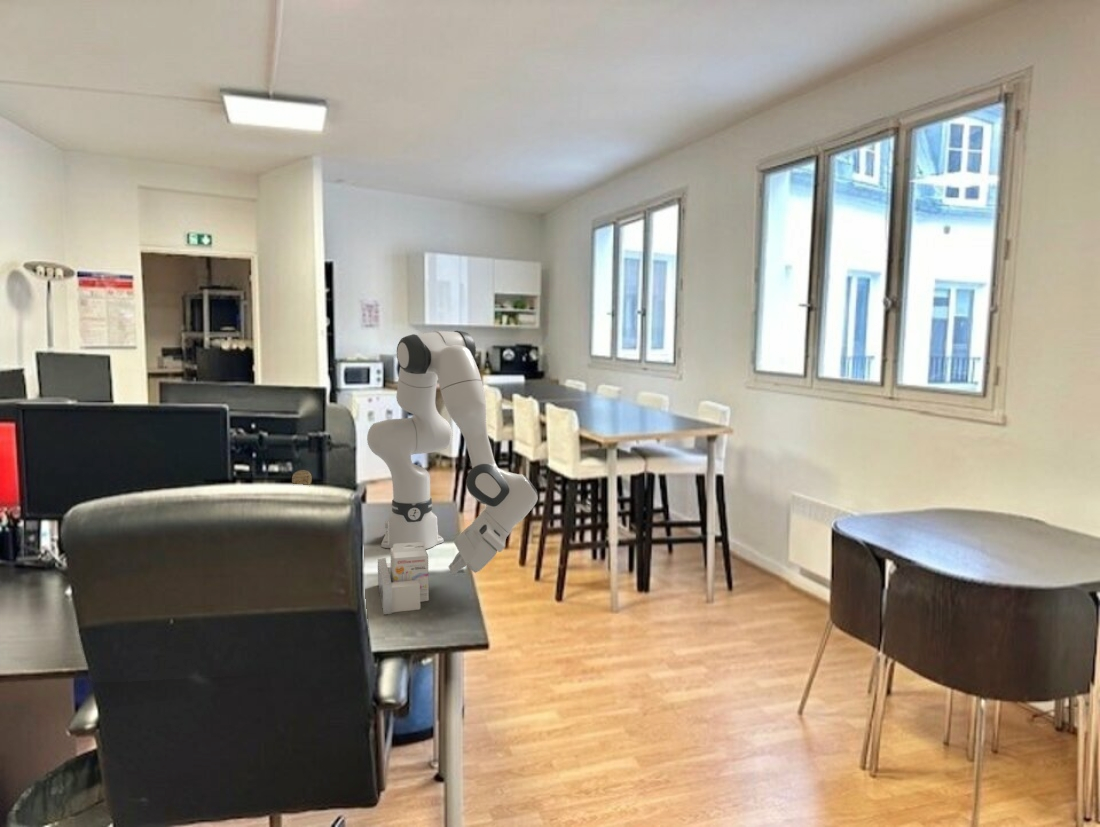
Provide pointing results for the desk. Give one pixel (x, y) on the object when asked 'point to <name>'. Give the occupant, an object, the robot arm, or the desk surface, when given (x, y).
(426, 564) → the ink box
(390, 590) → the rail
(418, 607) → the box
